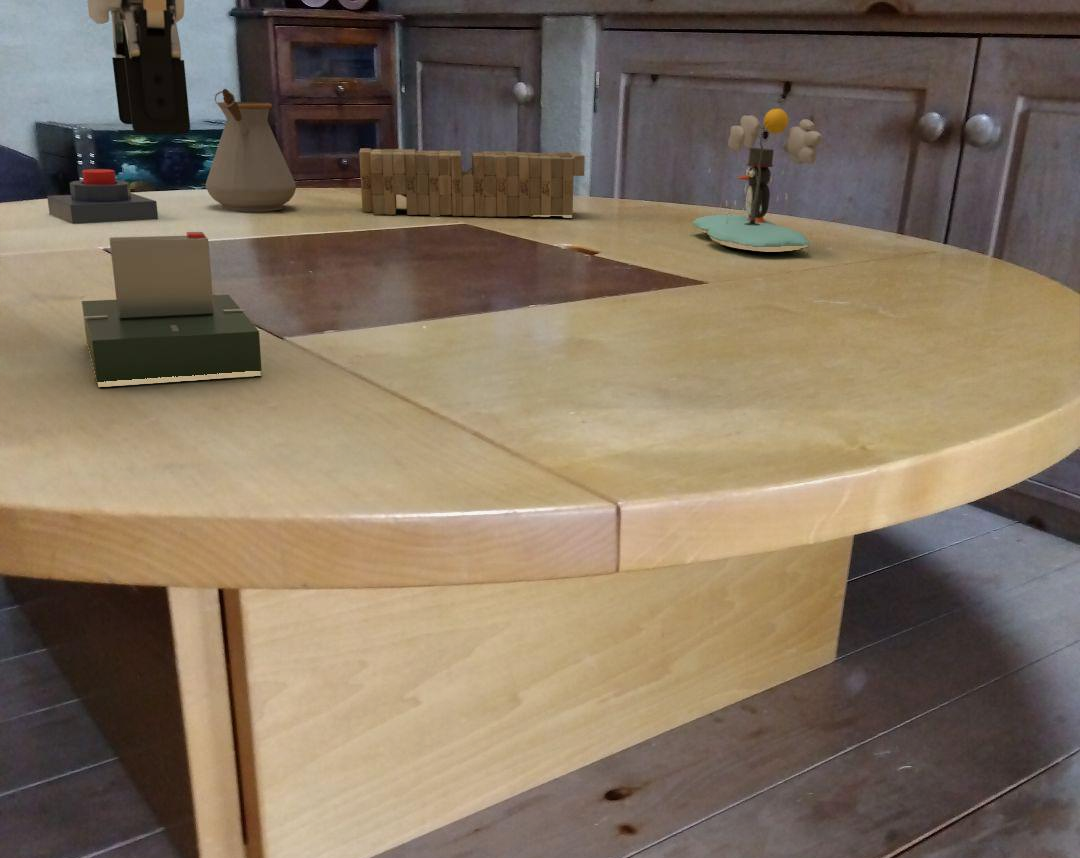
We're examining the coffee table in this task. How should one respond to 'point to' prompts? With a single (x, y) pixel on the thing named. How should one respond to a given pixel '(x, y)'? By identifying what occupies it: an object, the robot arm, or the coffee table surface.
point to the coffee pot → (248, 161)
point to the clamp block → (170, 342)
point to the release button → (99, 176)
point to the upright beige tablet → (162, 275)
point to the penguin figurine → (762, 183)
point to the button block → (101, 204)
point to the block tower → (469, 182)
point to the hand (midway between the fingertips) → (153, 128)
